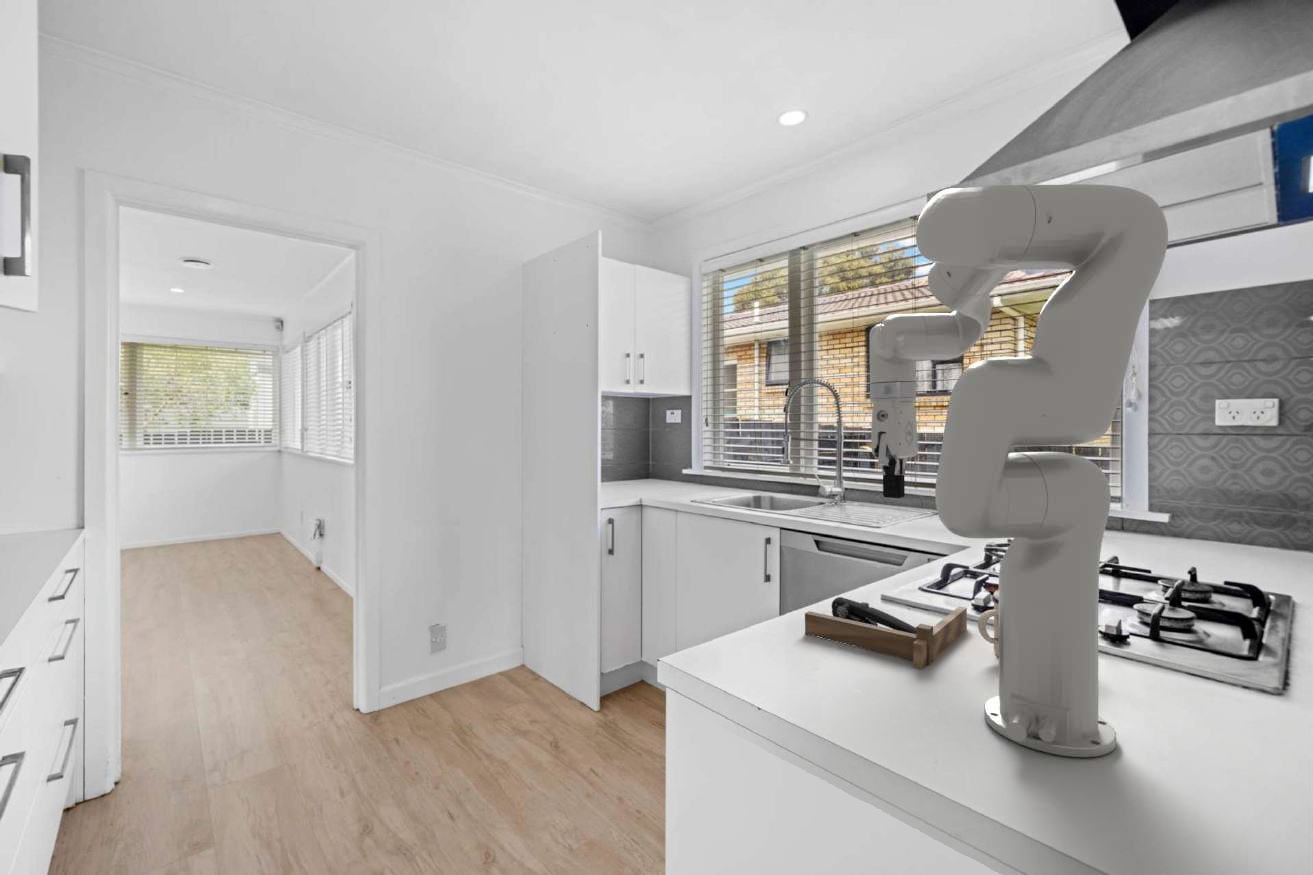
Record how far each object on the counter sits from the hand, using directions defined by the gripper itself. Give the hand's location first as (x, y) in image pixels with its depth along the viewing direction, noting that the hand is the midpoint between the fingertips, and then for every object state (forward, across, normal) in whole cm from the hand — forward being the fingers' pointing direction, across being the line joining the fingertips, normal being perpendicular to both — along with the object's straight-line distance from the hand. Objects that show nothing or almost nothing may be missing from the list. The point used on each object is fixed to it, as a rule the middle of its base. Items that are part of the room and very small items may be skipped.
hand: (893, 497), depth 106 cm
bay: (+22, -8, 0) cm, 23 cm away
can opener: (+22, -11, -1) cm, 25 cm away
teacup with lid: (+22, -6, -20) cm, 31 cm away
